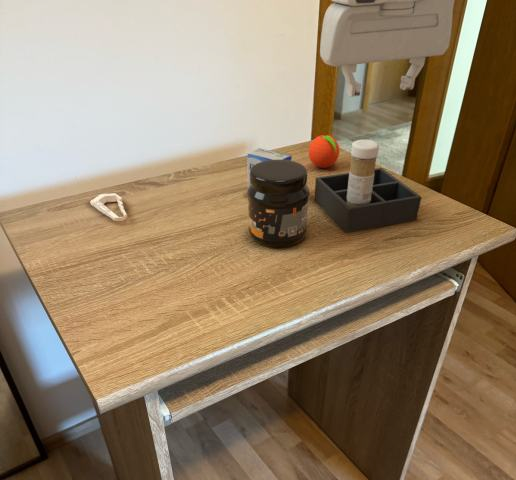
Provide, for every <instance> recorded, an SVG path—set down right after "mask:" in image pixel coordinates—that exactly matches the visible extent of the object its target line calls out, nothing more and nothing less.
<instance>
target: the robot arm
mask: <svg viewBox="0 0 516 480" xmlns="http://www.w3.org/2000/svg"><path fill="white" fill-rule="evenodd" d="M330 1H332V2H333V3H331V4H330V5H329V6H328V7H327V8H326V11H325V14H324V17H323V21H322V27H321V35H320V44H319V45H320V48H319V56H320V59H321V60H322V62H323V63H324V64H326V65H328V66H330V67H333V68H335V67H341V72H342V75H343V77H344V79H345V82H346V95H347V96H348V97H350V98H354V97H359V96H360V95H361V89H362V83H361V82H358V81H357V80H356V78H355V76H354V74H353V73H356V72H357V67H358V65H361V64H371V63H381V62H391V61H400V60H408V59H409V61H408V62H409V64H410V67H409V68H408V69H407V72H406V74H405V75H401V76H400V83H399V89H400V90H402V91H410V90H411V91H412V90H413V89H414V87H415V82H416V78H417V77H418V75H419V74H420V72H421V71H422V69H423V67H424V66H425V62H426V58H428V57H437V56H443V55H444V54H445V53H446V51H447V50H448V49H449V47H450V42H451V36H452V27H453V16H454V15H453V14H454V13H453V11H454V5H455V1H456V0H330Z"/></svg>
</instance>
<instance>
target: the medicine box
mask: <svg viewBox="0 0 516 480" xmlns="http://www.w3.org/2000/svg"><path fill="white" fill-rule="evenodd" d="M246 158H247V159H246V165H247V166H246V167H247V168H246V169H247V171H246V172H247V175H246V176H247V188H248V187H249V185H250V184H251V183H250V169H251V168H252V167H253V166H254V165H255V164H257V163H260V162H263V161H268V160H289V161H292V155H289V154H285V153H281V152H279V151H274V150H269V149H265V148H260V147H259V148H255V149H253V150H251V151H249V152H248V153H247V154H246Z"/></svg>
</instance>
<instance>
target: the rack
mask: <svg viewBox="0 0 516 480" xmlns="http://www.w3.org/2000/svg"><path fill="white" fill-rule="evenodd" d="M374 173H375V174H374V181H373V188H372V194H371V201H370V204H366V205H360V206H354V207H350V206H349V205H348V204H347V203H346V202H347V190H348V181H349V172H344V173H337V174H329V175H325V176H318V177H315V181H314V182H315V183H314V198H313V199H314V201H315V202H316V203H317V204H318V205H319V206H320V207H321V209H323V210H324V212H326V213H327V214H328V215H329V216H330V218H332V219H333V220H334V221H335V223H336V224H337V225H338V226H339V227H340V228H341V229H342V230H343V231H344V232H345V233H352V232H356V231H363V230H368V229H373V228H379V227H384V226H390V225H395V224H400V223H406V222H412V221H417V219H418V215H419V210H420V206H421V201H422V196H421V195H420V194H419V193H417V192H416V191H414V190H413V189H412V188H410V187H409V186H407V185H406V184H404V182H402V181H400V180H399V179H398V178H397V177H395V176H393V175H392V174H391V173H390V172H388V171H387V170H385V169H384V168H383V167H379V168H378V167H377V168H375V171H374Z"/></svg>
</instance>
